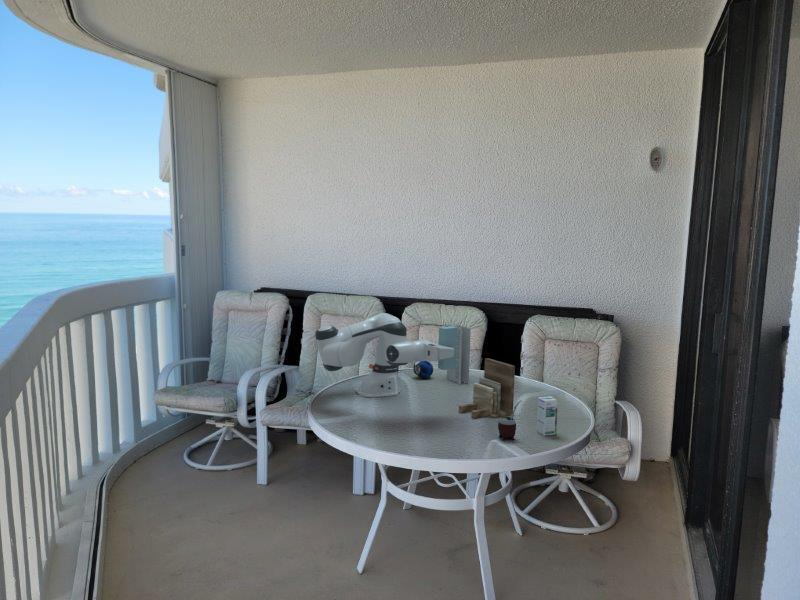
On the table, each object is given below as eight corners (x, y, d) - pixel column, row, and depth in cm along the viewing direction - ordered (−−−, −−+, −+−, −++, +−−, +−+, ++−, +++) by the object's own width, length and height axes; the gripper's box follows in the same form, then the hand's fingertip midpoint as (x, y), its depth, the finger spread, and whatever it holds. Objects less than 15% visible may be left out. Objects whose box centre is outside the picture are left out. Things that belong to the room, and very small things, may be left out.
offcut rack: (479, 421, 245) (481, 370, 243) (454, 409, 261) (455, 362, 258) (512, 414, 255) (514, 365, 253) (486, 404, 271) (488, 358, 268)
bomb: (410, 377, 319) (410, 351, 318) (424, 375, 326) (425, 349, 325) (422, 381, 312) (422, 354, 310) (436, 378, 319) (437, 351, 317)
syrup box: (543, 436, 228) (545, 400, 226) (536, 431, 234) (537, 396, 232) (556, 435, 230) (558, 399, 228) (548, 430, 235) (550, 395, 234)
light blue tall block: (443, 370, 247) (444, 328, 246) (437, 368, 251) (439, 327, 249) (456, 368, 251) (457, 327, 249) (450, 366, 255) (451, 326, 253)
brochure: (446, 378, 319) (448, 325, 316) (455, 377, 321) (457, 324, 318) (459, 384, 306) (461, 328, 303) (468, 383, 309) (470, 328, 306)
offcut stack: (490, 413, 252) (491, 384, 251) (472, 406, 263) (473, 378, 262) (499, 412, 255) (500, 383, 254) (480, 404, 266) (481, 377, 265)
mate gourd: (494, 439, 223) (495, 401, 222) (502, 433, 230) (504, 396, 228) (512, 443, 219) (514, 404, 218) (520, 437, 226) (522, 400, 224)
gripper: (409, 353, 252) (435, 350, 260) (436, 362, 235) (463, 359, 242) (409, 339, 252) (435, 336, 259) (437, 347, 234) (464, 344, 242)
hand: (449, 347), depth 250 cm, fingers closed on light blue tall block, 4 cm apart
